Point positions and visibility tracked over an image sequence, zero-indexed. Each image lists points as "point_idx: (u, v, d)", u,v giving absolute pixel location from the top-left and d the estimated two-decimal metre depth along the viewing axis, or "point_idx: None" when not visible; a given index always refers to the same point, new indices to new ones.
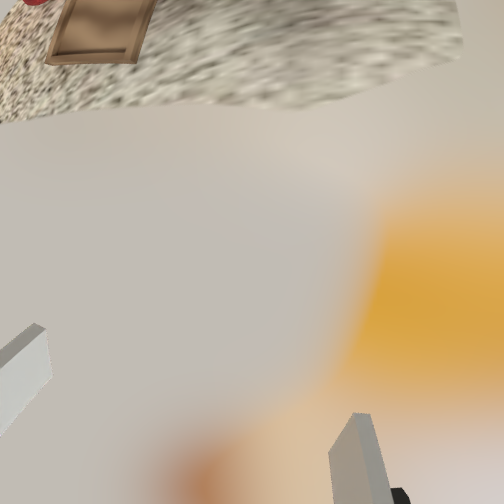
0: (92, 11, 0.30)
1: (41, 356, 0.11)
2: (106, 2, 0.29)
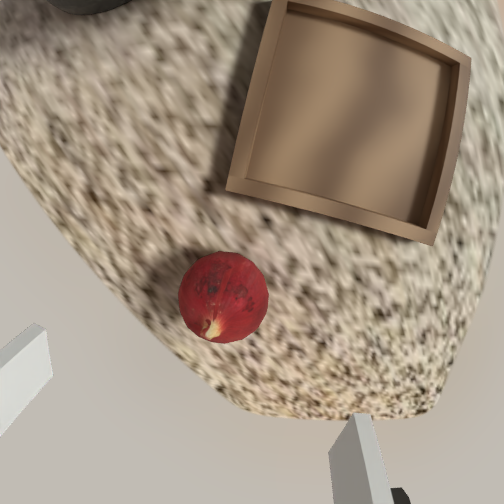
0: (340, 139, 0.20)
1: (41, 356, 0.11)
2: (327, 106, 0.19)
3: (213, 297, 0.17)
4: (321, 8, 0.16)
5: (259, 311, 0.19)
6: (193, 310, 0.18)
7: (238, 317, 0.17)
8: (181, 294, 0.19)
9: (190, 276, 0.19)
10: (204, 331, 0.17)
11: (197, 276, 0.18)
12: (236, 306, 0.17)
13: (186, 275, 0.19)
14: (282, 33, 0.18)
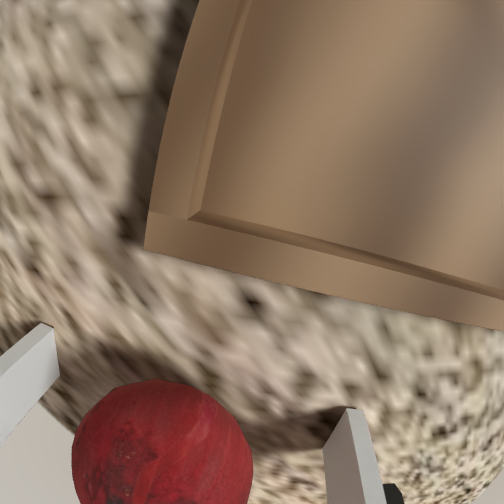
0: (423, 122, 0.07)
1: (48, 356, 0.11)
2: (392, 46, 0.07)
3: None
4: None
5: None
6: None
7: None
8: (72, 471, 0.06)
9: (79, 447, 0.06)
10: None
11: (87, 457, 0.06)
12: None
13: (77, 435, 0.07)
14: None
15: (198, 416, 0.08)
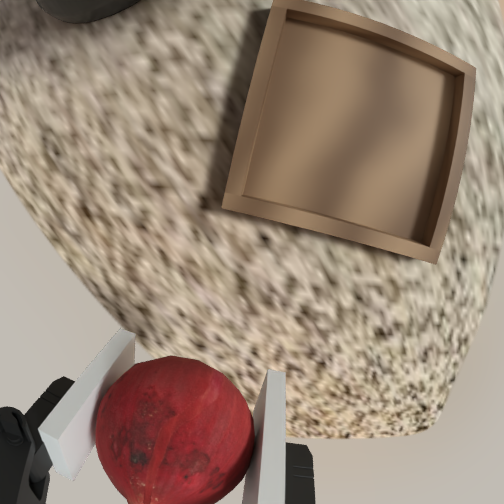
0: (341, 154, 0.19)
1: (129, 360, 0.12)
2: (327, 120, 0.19)
3: (142, 473, 0.07)
4: (322, 16, 0.16)
5: (236, 478, 0.08)
6: (112, 478, 0.07)
7: (193, 501, 0.07)
8: (96, 438, 0.08)
9: (105, 413, 0.08)
10: None
11: (113, 420, 0.08)
12: (186, 488, 0.07)
13: (102, 404, 0.09)
14: (281, 42, 0.18)
15: (209, 383, 0.09)
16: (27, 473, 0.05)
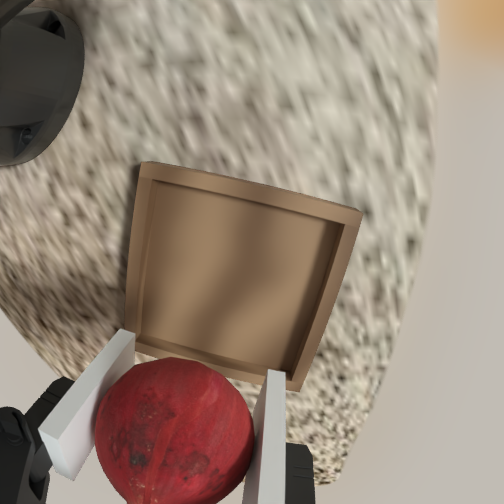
0: (211, 308, 0.24)
1: (129, 360, 0.12)
2: (198, 280, 0.23)
3: (141, 475, 0.07)
4: (184, 185, 0.20)
5: (236, 479, 0.08)
6: (111, 479, 0.07)
7: (193, 502, 0.07)
8: (95, 439, 0.08)
9: (105, 414, 0.08)
10: None
11: (113, 421, 0.08)
12: (186, 490, 0.07)
13: (102, 405, 0.09)
14: (155, 207, 0.22)
15: (209, 384, 0.09)
16: (27, 473, 0.05)
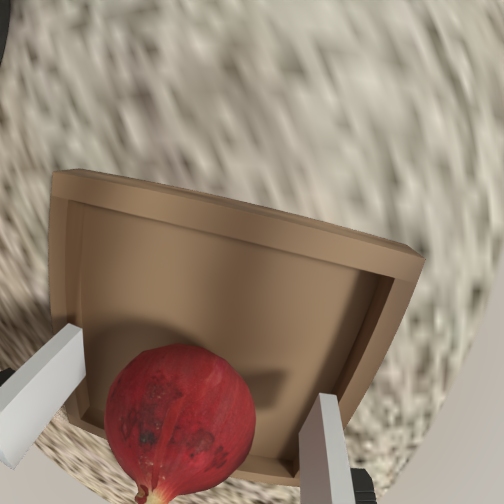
0: None
1: (76, 356, 0.12)
2: None
3: (150, 452, 0.08)
4: (115, 209, 0.11)
5: (238, 458, 0.09)
6: (121, 459, 0.08)
7: (198, 480, 0.08)
8: (105, 422, 0.09)
9: (115, 397, 0.09)
10: (140, 502, 0.07)
11: (123, 402, 0.09)
12: (192, 466, 0.08)
13: (112, 389, 0.10)
14: (84, 242, 0.13)
15: (213, 367, 0.10)
16: None
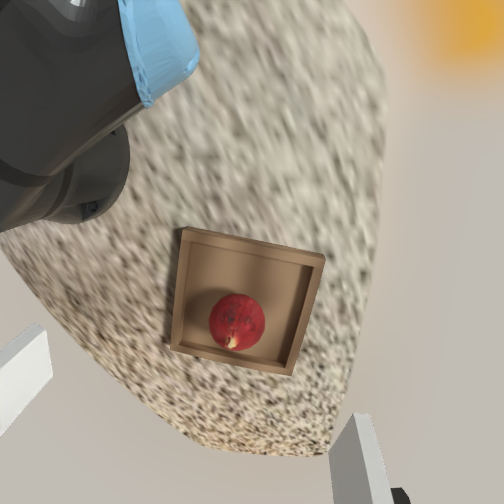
0: None
1: (41, 356, 0.11)
2: None
3: (231, 324, 0.29)
4: (211, 245, 0.33)
5: (259, 331, 0.30)
6: (219, 331, 0.29)
7: (246, 335, 0.29)
8: (211, 322, 0.30)
9: (216, 311, 0.31)
10: (227, 344, 0.28)
11: (220, 311, 0.30)
12: (245, 328, 0.29)
13: (213, 310, 0.31)
14: (192, 257, 0.35)
15: (250, 299, 0.32)
16: None
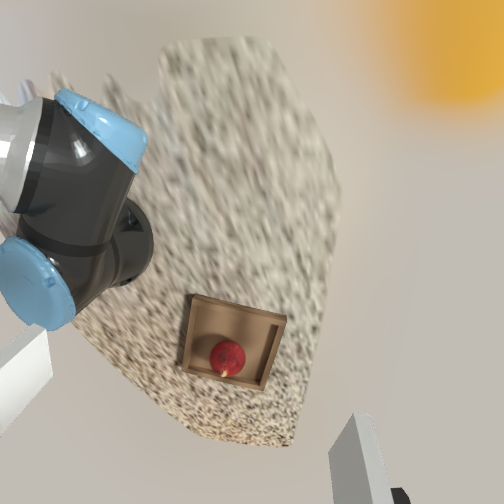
0: None
1: (41, 356, 0.11)
2: None
3: (224, 362, 0.45)
4: (211, 309, 0.49)
5: (241, 365, 0.47)
6: (216, 366, 0.46)
7: (233, 369, 0.45)
8: (211, 359, 0.47)
9: (214, 352, 0.47)
10: (221, 374, 0.45)
11: (217, 353, 0.46)
12: (232, 365, 0.45)
13: (212, 351, 0.47)
14: (198, 313, 0.51)
15: (236, 345, 0.48)
16: None
